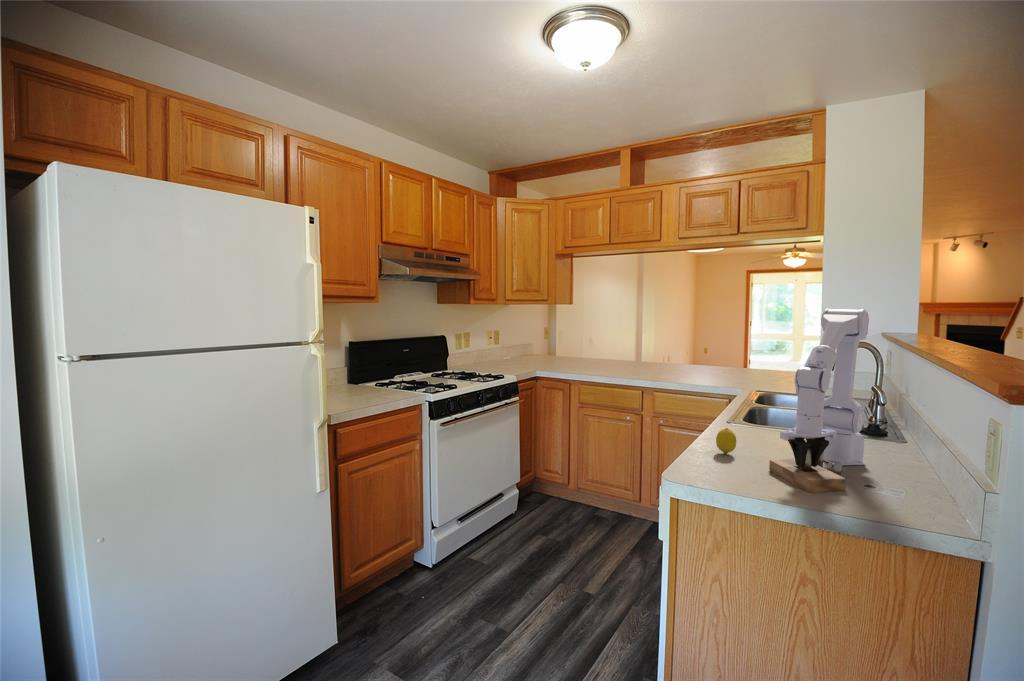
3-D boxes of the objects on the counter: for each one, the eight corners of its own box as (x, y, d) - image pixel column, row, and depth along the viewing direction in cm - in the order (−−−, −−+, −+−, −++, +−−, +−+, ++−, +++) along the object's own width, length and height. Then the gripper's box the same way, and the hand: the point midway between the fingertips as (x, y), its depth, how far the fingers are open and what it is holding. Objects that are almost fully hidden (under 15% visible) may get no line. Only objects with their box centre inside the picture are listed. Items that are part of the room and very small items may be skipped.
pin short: (834, 473, 124) (835, 460, 124) (843, 477, 121) (844, 464, 121) (824, 473, 124) (825, 461, 123) (833, 478, 121) (834, 465, 120)
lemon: (737, 457, 136) (739, 431, 135) (717, 456, 137) (719, 430, 136) (732, 451, 141) (734, 426, 140) (713, 450, 142) (714, 425, 141)
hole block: (802, 469, 127) (803, 458, 126) (845, 490, 113) (846, 478, 113) (769, 470, 126) (769, 460, 125) (808, 492, 112) (809, 480, 111)
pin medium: (817, 465, 130) (818, 448, 130) (825, 469, 127) (826, 451, 127) (807, 465, 130) (808, 448, 129) (815, 469, 127) (816, 451, 126)
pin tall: (806, 472, 121) (807, 446, 121) (814, 477, 118) (815, 450, 118) (794, 472, 121) (796, 446, 120) (802, 477, 118) (803, 450, 117)
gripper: (822, 409, 123) (819, 459, 124) (773, 411, 121) (769, 461, 122) (845, 416, 116) (841, 468, 117) (793, 418, 114) (789, 471, 115)
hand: (806, 465), depth 119 cm, fingers closed on pin tall, 3 cm apart
